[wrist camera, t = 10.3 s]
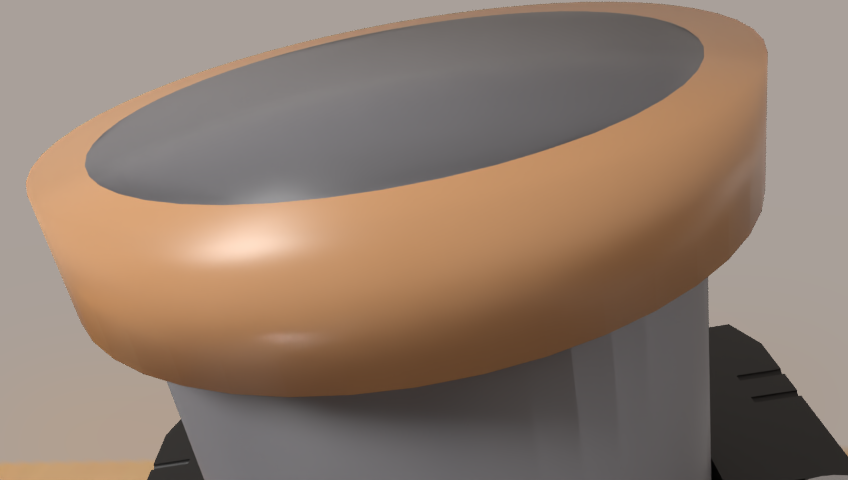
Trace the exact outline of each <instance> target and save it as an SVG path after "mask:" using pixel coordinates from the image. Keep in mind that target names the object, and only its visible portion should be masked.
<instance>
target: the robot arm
mask: <svg viewBox="0 0 848 480" xmlns="http://www.w3.org/2000/svg"><path fill="white" fill-rule="evenodd" d="M709 375H710V434H711V480H848V456H847V455H846V454H845V452H844V451H843V450H842V448H841V447H840V446H839V445H838V443H837V442H836V441H835V439H834V438H833V437H832V435H831V434H830V433H829V432H828V430H827V429H826V428H825V426H824V425H823V424H822V422H821V421H820V420H819V418H818V417H817V416H816V415H815V413H814V412H813V411H812V409H811V408H810V407H809V405H808V404H807V403H806V401H805V400H804V399H803V398H802V396H798V394H797V390H796V388H795V387H794V386H793V384H792V383H791V382H790V381H789V379H788V378H787V377H786V376H785V374H782V373H781V370H780V367H779V366H778V365H777V364H776V362H775V361H774V360H773V359H772V357H771V356H770V354H769V353H768V352H767V350H766V349H765V348H764V347H763V345H762V344H761V343H759V342H758V341H756V340H754V339H753V338H751V337H749V336H748V335H746V334H744V333H742V332H741V331H739V330H737V329H736V328H734V327H732V326H730V325H729V324H728V325H722V326H716V327H710V328H709ZM147 480H204V478H203V475H202V472H201V470H200V467H199V465H198V462H197V459H196V457H195V454H194V451H193V449H192V446H191V444H190V441H189V438H188V436H187V433H186V430H185V428H184V425H183V423H182V420H180V421H179V422H178V423H177V424H176V425H175V426H174V427H173V428H172V429H171V430H170V432H169V433H168V434H167V435H166V437H165V439H164V441H163V444H162V446H161V449H160V451H159V453H158V455H157V458H156V460H155V463H154V470H151V472H150V474H149V477H148V479H147Z"/></svg>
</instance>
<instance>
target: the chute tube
mask: <svg viewBox="0 0 848 480" xmlns="http://www.w3.org/2000/svg"><path fill="white" fill-rule="evenodd" d="M767 53H768V52H767V49H766V46H765V43H764V40H763V39H762V38H761V37H760V35H759V34H758V33H757V32H756V31H755V30H754V29H752V28H750V27H749V26H747V25H745V24H743V23H741V22H740V21H738V20H735V19H732V18H730V17H726V16H724V15H720V14H718V13H713V12H709V11H704V10H699V9H695V8H688V7H681V6H674V5H665V4H652V3H635V2H574V3H553V4H552V3H551V4H537V5H524V6H513V7H503V8H493V9H483V10H475V11H467V12H459V13H452V14H446V15H439V16H433V17H425V18H419V19H413V20H407V21H401V22H396V23H390V24H385V25H380V26H375V27H369V28H364V29H360V30H355V31H350V32H345V33H341V34H336V35H331V36H327V37H323V38H319V39H315V40H310V41H306V42H302V43H298V44H294V45H290V46H286V47H283V48H279V49H275V50H272V51H267V52H264V53H261V54H257V55H254V56H250V57H247V58H243V59H240V60H236V61H233V62H230V63H227V64H224V65H221V66H218V67H215V68H211V69H208V70H205V71H202V72H200V73H197V74H194V75H191V76H188V77H185V78H183V79H180V80H177V81H175V82H172V83H169V84H167V85H164V86H162V87H159V88H157V89H154V90H151V91H149V92H147V93H144V94H142V95H140V96H138V97H135V98H133V99H131V100H128V101H126V102H124V103H122V104H120V105H118V106H116V107H114V108H112V109H110V110H108V111H106V112H104V113H102V114H100V115H98V116H96V117H94V118H93V119H91V120H89V121H87V122H86V123H84V124H82V125H80V126H79V127H77V128H75V129H74V130H73V131H71V132H70V133H68V134H67V135H65V136H64V137H63V138H61V139H59V140H58V141H57V142H56V143H55V144H53V145H52V146H51V147H50V148H49V149H48V150H47V151H46V152H44V153H43V154H42V155H41V157H40V158H39V159H38V160H37V162H36V163H35V164H34V165H33V167H32V168H31V170H30V173H29V176H28V178H27V181H26V187H27V195H28V198H29V200H30V203H31V205H32V207H33V210H34V212H35V214H36V217H37V219H38V222H39V224H40V226H41V229H42V231H43V234H44V236H45V238H46V240H47V243H48V245H49V248H50V250H51V252H52V255H53V257H54V260H55V262H56V264H57V267H58V269H59V271H60V274H61V276H62V278H63V281H64V283H65V286H66V288H67V290H68V293H69V295H70V297H71V300H72V302H73V305H74V307H75V309H76V312H77V314H78V316H79V319H80V321H81V323H82V325H83V327H84V328H85V330H86V331H87V333H88V334H89V336H90V337H91V339H92V341H93V342H94V343H95V344H97V345H98V346H99V347H100V348H101V349H103V350H104V351H105V352H106V353H108V354H109V355H110V356H111V357H112V358H113V359H115V360H117V361H119V362H121V363H123V364H125V365H127V366H129V367H131V368H133V369H135V370H137V371H139V372H141V373H143V374H146V375H149V376H152V377H155V378H158V379H162V380H165V381H167V383H168V386H169V388H170V391H171V394H172V396H173V399H174V402H175V404H176V407H177V409H178V412H179V415H180V417H181V420H182V423H183V425H184V428H185V430H186V433H187V436H188V438H189V441H190V444H191V446H192V449H193V451H194V454H195V457H196V459H197V462H198V465H199V467H200V470H201V472H202V475H203V478H204V480H711V434H710V375H709V320H708V319H709V318H708V276H709V275H710V274H712V273H713V272H714V271H715V270H716V269H718V268H719V267H720V266H721V265H722V264H724V263H725V262H726V261H727V260H728V259H729V258H730V257H731V256H732V255H733V254H734V253H735V251H736V250H737V249H738V248H739V247H740V245H741V244H742V243H743V242H744V241H745V240H746V238H747V237H748V236H749V235H750V233H751V231H752V229H753V227H754V225H755V223H756V221H757V219H758V217H759V215H760V213H761V211H762V206H763V199H764V194H765V170H766V169H765V168H766V167H765V166H766V115H767V112H766V111H767V57H768V54H767Z"/></svg>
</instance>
